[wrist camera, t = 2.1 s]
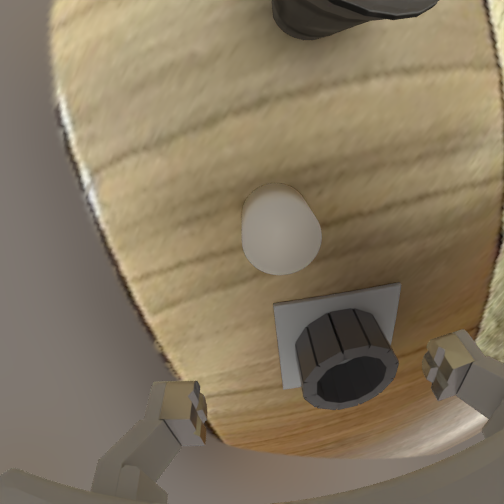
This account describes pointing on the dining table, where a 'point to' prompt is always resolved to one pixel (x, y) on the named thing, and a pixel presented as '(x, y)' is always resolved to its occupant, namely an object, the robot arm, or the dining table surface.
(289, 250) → the cap
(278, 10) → the beverage cup
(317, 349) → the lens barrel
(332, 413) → the dining table surface
